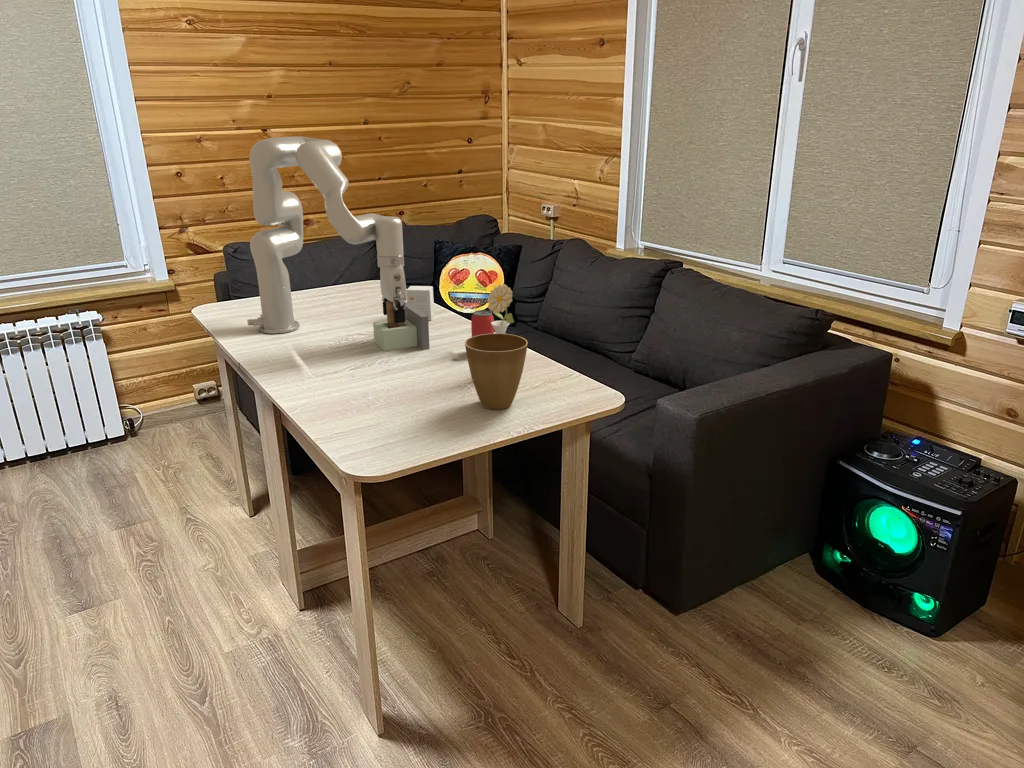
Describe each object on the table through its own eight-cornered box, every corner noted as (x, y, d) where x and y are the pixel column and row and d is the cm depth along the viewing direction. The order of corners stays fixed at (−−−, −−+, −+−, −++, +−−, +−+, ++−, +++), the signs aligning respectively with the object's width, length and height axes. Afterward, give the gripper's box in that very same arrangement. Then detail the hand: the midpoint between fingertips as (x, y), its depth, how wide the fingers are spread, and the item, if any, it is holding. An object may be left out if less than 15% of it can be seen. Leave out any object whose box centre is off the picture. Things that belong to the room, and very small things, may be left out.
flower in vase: (473, 368, 207) (471, 279, 198) (511, 362, 211) (511, 275, 202) (491, 383, 196) (490, 290, 187) (530, 377, 200) (531, 285, 191)
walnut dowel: (391, 343, 220) (388, 304, 216) (386, 339, 224) (384, 300, 219) (404, 341, 222) (401, 302, 218) (399, 337, 225) (397, 299, 221)
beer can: (498, 351, 220) (498, 312, 215) (483, 357, 215) (482, 317, 211) (483, 347, 224) (482, 308, 220) (467, 352, 219) (466, 312, 215)
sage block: (385, 351, 217) (383, 331, 215) (374, 341, 225) (373, 322, 223) (417, 346, 221) (416, 326, 219) (405, 337, 230) (404, 318, 227)
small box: (434, 316, 255) (433, 285, 251) (431, 320, 250) (430, 290, 246) (411, 315, 256) (410, 285, 252) (407, 320, 251) (406, 289, 247)
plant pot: (535, 411, 178) (536, 348, 173) (474, 419, 174) (473, 354, 169) (517, 389, 192) (517, 330, 186) (460, 396, 188) (458, 335, 182)
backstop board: (356, 364, 210) (353, 326, 206) (338, 346, 225) (335, 310, 221) (429, 352, 219) (428, 316, 215) (408, 336, 234) (406, 301, 230)
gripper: (413, 265, 209) (416, 324, 215) (393, 254, 223) (396, 309, 229) (388, 268, 205) (391, 327, 212) (368, 256, 220) (372, 313, 226)
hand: (394, 318), depth 220 cm, fingers open, 9 cm apart
